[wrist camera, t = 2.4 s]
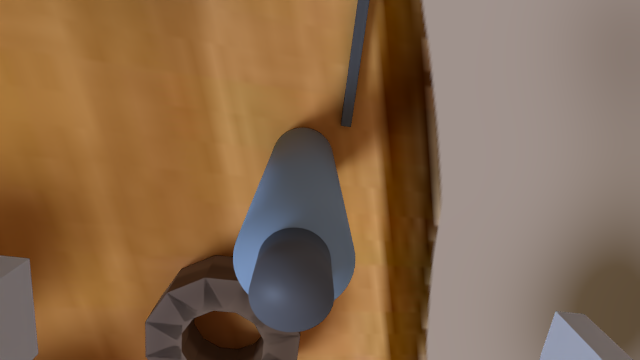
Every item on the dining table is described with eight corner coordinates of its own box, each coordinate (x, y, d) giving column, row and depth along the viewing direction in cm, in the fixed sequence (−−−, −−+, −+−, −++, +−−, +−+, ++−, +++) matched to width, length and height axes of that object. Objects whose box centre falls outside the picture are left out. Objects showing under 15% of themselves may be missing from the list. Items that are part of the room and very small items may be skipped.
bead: (161, 249, 28) (144, 271, 25) (306, 264, 29) (306, 287, 26) (161, 368, 31) (145, 399, 28) (292, 379, 32) (290, 411, 29)
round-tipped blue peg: (275, 124, 26) (223, 223, 10) (336, 131, 26) (373, 238, 11) (270, 182, 27) (216, 349, 12) (328, 189, 27) (351, 360, 12)
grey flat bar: (308, -148, 21) (308, -153, 21) (387, -135, 22) (389, -140, 21) (282, 117, 26) (282, 118, 25) (350, 125, 26) (350, 126, 25)
